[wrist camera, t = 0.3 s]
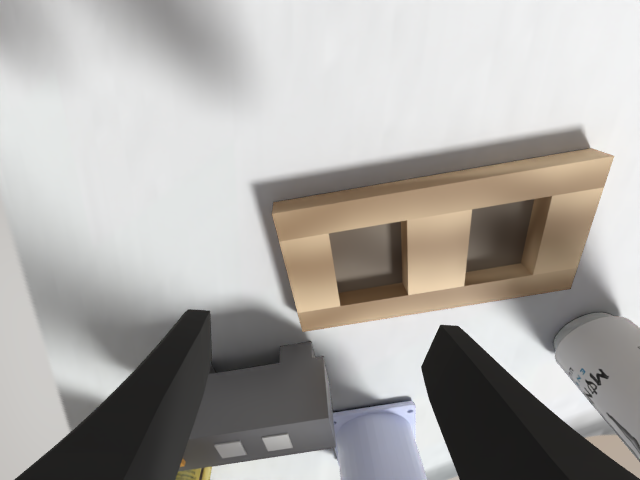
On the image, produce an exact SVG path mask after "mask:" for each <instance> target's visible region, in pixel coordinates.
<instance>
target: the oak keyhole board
mask: <svg viewBox="0 0 640 480" xmlns="http://www.w3.org/2000/svg"><path fill="white" fill-rule="evenodd" d="M613 158H614V156H613V155H610V154H607V153H604V152H601V151H598V150H595V149H592V148H589V149H584V150H578V151H572V152H566V153H560V154H554V155H548V156H542V157H537V158H531V159H525V160H519V161H513V162H507V163H501V164H495V165H490V166H484V167H478V168H472V169H466V170H460V171H454V172H448V173H443V174H437V175H431V176H425V177H419V178H413V179H407V180H401V181H396V182H390V183H384V184H378V185H372V186H366V187H360V188H354V189H349V190H343V191H337V192H331V193H325V194H319V195H313V196H307V197H302V198H296V199H290V200H284V201H278V202H273V210H272V216H273V220H274V224H275V228H276V232H277V236H278V239H279V243H280V247H281V251H282V255H283V259H284V262H285V266H286V270H287V274H288V278H289V282H290V286H291V289H292V293H293V297H294V301H295V305H296V309H297V312H298V316H299V320H300V324H301V328H302V332H306V331H312V330H318V329H324V328H330V327H337V326H343V325H349V324H355V323H362V322H368V321H374V320H380V319H387V318H393V317H399V316H405V315H411V314H418V313H424V312H430V311H436V310H443V309H449V308H455V307H461V306H467V305H474V304H480V303H486V302H492V301H499V300H505V299H511V298H517V297H524V296H530V295H536V294H542V293H548V292H555V291H561V290H567V289H571V286H572V283H573V280H574V277H575V274H576V271H577V268H578V264H579V261H580V258H581V255H582V252H583V249H584V246H585V243H586V240H587V237H588V234H589V231H590V228H591V225H592V222H593V219H594V216H595V213H596V210H597V207H598V204H599V201H600V198H601V194H602V191H603V188H604V185H605V182H606V179H607V176H608V173H609V170H610V167H611V164H612V161H613Z"/></svg>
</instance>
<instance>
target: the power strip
mask: <svg viewBox="0 0 640 480" xmlns="http://www.w3.org/2000/svg"><path fill="white" fill-rule="evenodd" d="M330 448H336V441H335V431H334V422H333V412H332V402H331V392H330V384H329V380H328V375H327V371H326V366H325V362H324V358H323V356H320V357H315V354H314V350H313V346H312V342H305V343H299V344H292V345H286V346H280V361H279V363H276V364H270V365H264V366H257V367H251V368H245V369H238V370H232V371H226V372H220V373H216V372H215V370H214V368H213V366H212V364H210V369H209V373H208V378H207V382H206V387H205V391H204V395H203V398H202V401H201V404H200V407H199V410H198V413H197V416H196V419H195V422H194V425H193V428H192V431H191V434H190V437H189V440H188V443H187V446H186V449H185V452H184V455H183V458H182V462H181V465H180V468H179V471H185V470H192V469H199V468H205V467H212V466H218V465H225V464H232V463H238V462H245V461H251V460H258V459H264V458H271V457H278V456H284V455H291V454H297V453H304V452H311V451H317V450H324V449H330ZM179 471H178V472H179Z"/></svg>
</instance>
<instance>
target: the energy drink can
mask: <svg viewBox="0 0 640 480" xmlns="http://www.w3.org/2000/svg"><path fill="white" fill-rule="evenodd" d="M554 349H555V350H556V351H555V359H556V362H557V363H558V364H559V365H560V367H561V368H562V369H563V370H564V371H565V373H566V374H567V375H568V376H569V377H570V379H571V380H572V381H573V382H574V383H575V385H576V386H577V387H578V388H579V389H580V391H581V392H582V393H583V394H584V395H585V397H586V398H587V399H588V400H589V402H590V403H591V404H592V405H593V406H594V408H595V409H596V410H597V411H598V412H599V414H600V415H601V416H602V417H603V418H604V420H605V421H606V422H607V423H608V424H609V426H610V427H611V428H612V429H613V430H614V432H615V433H616V434H617V435H618V436H619V438H620V439H621V440H622V441H623V442H624V444H625V445H626V446H627V447H628V448H629V450H630V451H631V452H632V453H633V454H634V455H635V457H636V458H637V459H638V460H639V462H640V328H639V327H638V326H637V325H635V324H634V323H633V322H632V321H630V320H629V319H627V318H624V317H619V316H612V315H610V314H608V313H591V314H587V315H584V316H581V317H579V318H577V319H575V320H573V321H571V322H570V323H568V324H567V325H565V326H564V327H563V328H562V329H561V330H560V331H559V332H558V334H557V335H556V337H555V340H554Z"/></svg>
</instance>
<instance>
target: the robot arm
mask: <svg viewBox="0 0 640 480" xmlns="http://www.w3.org/2000/svg"><path fill="white" fill-rule="evenodd" d="M211 359H212V352H211V323H210V311H205V310H187V311H186V312H185V313H184V314H183V315H182V316H181V318H180V319H179V320H178V321H177V323H176V324H175V325H174V326H173V328H172V329H171V330H170V331H169V332H168V334H167V335H166V336H165V337H164V338H163V340H162V341H161V342H160V343H159V344H158V345H157V346H156V348H155V349H154V350H153V351H152V352H151V353H150V354H149V355H148V356H147V357H146V359H145V360H144V361H143V362H142V363H141V364H140V365H139V366H138V367H137V368H136V370H135V371H134V372H133V373H132V374H131V375H130V376H129V377H128V378H127V379H126V380H125V381H124V382H123V383H122V384H121V385H120V386H119V387H118V388H117V389H116V390H115V391H114V392H113V393H112V394H111V395H110V396H109V397H108V398H107V399H106V400H105V401H104V402H103V403H102V404H101V405H100V406H99V407H98V408H97V409H95V410H94V411H93V412H92V413H91V414H90V415H89V416H88V417H87V418H86V419H85V420H84V421H83V422H81V423H80V424H79V425H78V426H77V427H76V428H75V429H74V430H73V431H71V432H70V433H69V434H68V435H67V436H66V437H65V438H64V439H63V440H61V441H60V442H59V443H58V444H57V445H55V446H54V447H53V448H52V449H51V450H50V451H48V452H47V453H46V454H45V455H44V456H42V457H41V458H40V459H39V460H38V461H36V462H35V463H34V464H33V465H32V466H31V467H29V468H28V469H27V470H26V471H24V472H23V473H22V474H21V475H20V476H18V477H17V478H16V479H15V480H176V477H177V474H178V471H179V468H180V465H181V462H182V458H183V455H184V452H185V449H186V446H187V443H188V440H189V437H190V434H191V431H192V428H193V425H194V422H195V419H196V416H197V413H198V410H199V407H200V404H201V401H202V398H203V395H204V391H205V387H206V382H207V378H208V373H209V369H210V364H211ZM421 368H422V373H423V377H424V381H425V385H426V389H427V393H428V397H429V400H430V403H431V406H432V408H433V411H434V414H435V416H436V419H437V422H438V424H439V427H440V429H441V432H442V435H443V437H444V440H445V442H446V445H447V448H448V450H449V453H450V455H451V458H452V460H453V463H454V466H455V468H456V471H457V473H458V476H459V479H460V480H640V479H639V478H637V477H636V476H635V475H633V474H632V473H631V472H629V471H627V470H626V469H625V468H623V467H622V466H620V465H619V464H618V463H617V462H615V461H614V460H612V459H611V458H610V457H608V456H607V455H606V454H604V453H603V452H602V451H601V450H599V449H598V448H597V447H595V446H594V445H593V444H591V443H590V442H589V441H587V440H586V439H585V438H584V437H582V436H581V435H580V434H579V433H577V432H576V431H575V430H573V429H572V428H571V427H570V426H569V425H567V424H566V423H565V422H564V421H562V420H561V419H560V418H559V417H558V416H557V415H555V414H554V413H553V412H552V411H551V410H549V409H548V408H547V407H546V406H545V405H544V404H542V403H541V402H540V401H539V400H538V399H537V398H536V397H534V396H533V395H532V394H531V393H530V392H529V391H528V390H527V389H525V388H524V387H523V386H522V385H521V384H520V383H519V382H518V381H517V380H516V379H515V378H513V377H512V376H511V375H510V374H509V373H508V372H507V371H506V370H505V369H504V368H503V367H502V366H501V365H499V364H498V363H497V362H496V361H495V360H494V359H493V358H492V357H491V356H490V355H489V354H488V353H487V352H486V351H485V350H484V349H483V348H482V347H481V346H479V345H478V344H477V343H476V342H475V341H474V340H473V339H472V338H471V337H470V336H469V335H468V334H467V333H465V332H464V331H463V330H462V329H461V328H460V327H459V326H450V325H440V327H439V329H438V331H437V333H436V335H435V338H434V340H433V342H432V344H431V347H430V349H429V351H428V353H427V355H426V358H425V360H424V362H423V364H422V366H421ZM333 422H334V431H335V441H336V448H335V452H336V456H337V460H338V464H339V467H340V477H341V480H427V477H426V474H425V470H424V467H423V464H422V460H421V457H420V454H419V451H418V447H417V444H416V441H415V425H416V407H415V404H414V402H413V401H405V402H399V403H392V404H386V405H379V406H373V407H367V408H360V409H354V410H347V411H341V412H334V413H333Z"/></svg>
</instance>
